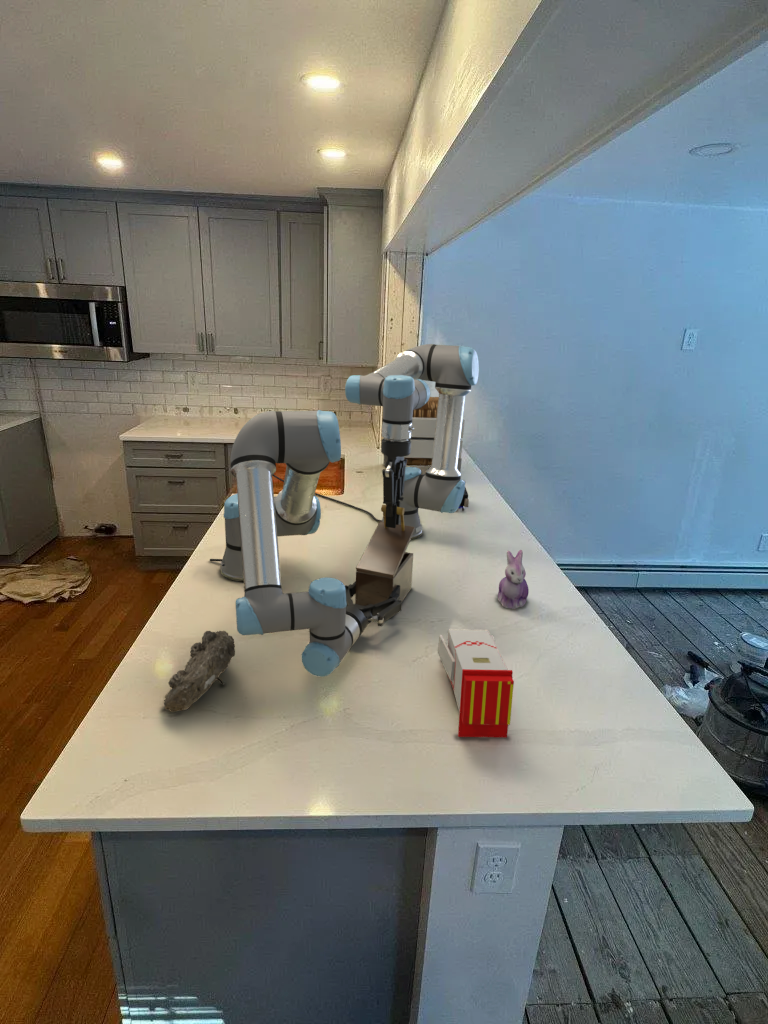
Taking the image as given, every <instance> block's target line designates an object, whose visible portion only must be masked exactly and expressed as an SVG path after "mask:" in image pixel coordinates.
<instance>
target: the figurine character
mask: <svg viewBox="0 0 768 1024" xmlns="http://www.w3.org/2000/svg"><path fill="white" fill-rule="evenodd" d="M469 505H470V500H469V492H468V490H467V488H466V486H465V491H464V495H463V498H462V501H461V503H460V506H459V508H458V509H461V511H462V512H464V511H465V508H469Z"/></svg>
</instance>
